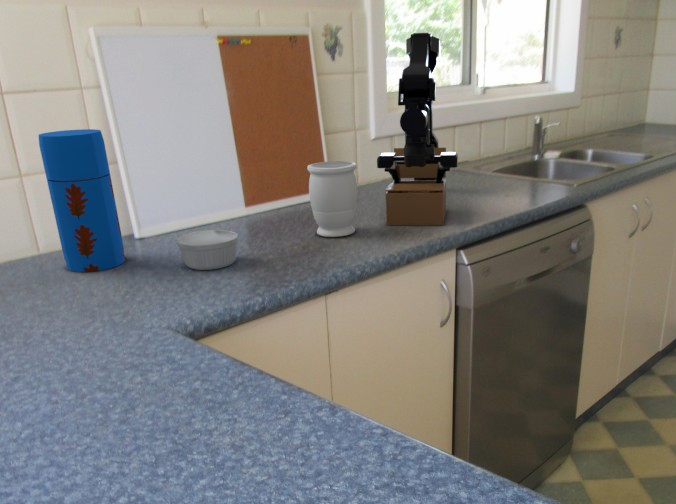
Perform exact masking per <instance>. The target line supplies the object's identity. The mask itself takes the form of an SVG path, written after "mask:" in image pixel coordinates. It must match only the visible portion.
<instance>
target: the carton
mask: <svg viewBox="0 0 676 504" xmlns="http://www.w3.org/2000/svg"><path fill="white" fill-rule="evenodd" d="M446 180H447V179H444V180H443V179H442V181H441V183H436V180H416V181H414V180H401V184H395V182H394V180H392V183H389V184H388V186H387V187H386V189H385V207H386V208H385V210H386V211H385V212H386V226H444V222H445V218H446V212H447V181H446ZM398 191H402V193H398ZM408 191H430V193H408ZM435 191H438V193H435Z"/></svg>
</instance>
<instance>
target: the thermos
mask: <svg viewBox="0 0 676 504" xmlns="http://www.w3.org/2000/svg"><path fill="white" fill-rule="evenodd" d="M38 146H39V151H40V155H41V160H42V164H43V169H44V173H45V178H46V182H47V187H48V191H49V195H50V200H51V205H52V209H53V214H54V219H55V224H56V228H57V231H58V237H59V241H60V245H61V249H62V254H63V257H64V260H65V264H66V267H67V270H69V271H70V272H75V273H76V272H77V273H89V272H99V271H104V270H110V269H112V268H115V267H118V266H120V265H122V264H123V263H125V261H126V258H125V257H126V256H125V249H124V241H123V237H122V236H123V235H122V230H121V226H120V220H119V214H118V209H117V203H116V199H115V193H114V188H113V181H112V177H111V171H110V166H109V160H108V154H107V150H106V145H105V138H104V137H103V133H102V131H101V129H96V128H95V129H93V128H92V129H90V128H87V129H85V128H84V129H83V128H82V129H67V130H57V131H49V132H42V133H39V134H38Z"/></svg>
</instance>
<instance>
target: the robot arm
mask: <svg viewBox="0 0 676 504" xmlns="http://www.w3.org/2000/svg"><path fill="white" fill-rule="evenodd" d="M405 42H406V43H405V44H406V47H405V51H406V53H405V54H406V55H405V56H406V57H407V59H409V64H408V66H407V67H405V68H404V69H403V70H402V73H401V77H399V79H398V96H397V105H398V106H404V111H403V112H402V113H401V115H400V118H399V119H400V120H399V125H400V128H401V130H402V131H403V132H404V147H403V148H404V156H396V153H394V152H381V153H380V154H379V155H378V156H377V158H376V165H377V166H376V168H377V169H383V170H384V172H385V173H388V174H389V175H390V176H391V178H392V181H394V182H395V184H401V181H402V178H400V169H399V165H398V164H405V166H406V167H412V166H419V167H424V166H426V164H438V165H439V166H438V170H437V178H413V181H416V180H436V183H441V181H442V180H443V179H444V178H443V176H444V174H445V172H451V169H452V168H458V164H459V155H458V153H457V152H456V151H446V152H441V155H440V156H435V151H434V148H440V145H439V139H438V138H437V135H436V134H435V132H434V130H433V129H434V127H433V126H434V125H433V124H434V123H433V122H434V121H433V120H434V119H433V102H436V91H437V90H436V89H437V83H436V81H435V79H434V77H433V73H434V71H435V70H436V68H437V66H438V64H439V61H438V60H439V58H441V41H440V38H438V37H436V36H434V35H432V33H429V32H413V33H411V34H410V37H408V38H406V41H405ZM398 193H402V191H398ZM435 193H438V191H435Z"/></svg>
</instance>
